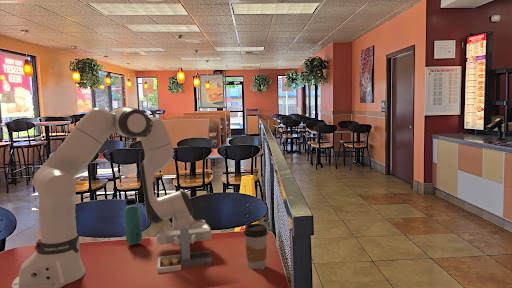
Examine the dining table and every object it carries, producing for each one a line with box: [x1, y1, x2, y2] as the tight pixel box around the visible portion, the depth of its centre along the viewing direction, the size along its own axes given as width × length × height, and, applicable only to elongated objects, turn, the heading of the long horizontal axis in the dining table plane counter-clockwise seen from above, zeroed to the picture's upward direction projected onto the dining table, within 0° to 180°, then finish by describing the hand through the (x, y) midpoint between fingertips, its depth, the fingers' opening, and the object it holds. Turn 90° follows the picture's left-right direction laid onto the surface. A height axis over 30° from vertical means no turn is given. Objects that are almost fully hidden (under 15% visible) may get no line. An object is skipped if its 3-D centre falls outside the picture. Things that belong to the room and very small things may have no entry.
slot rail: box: [179, 250, 213, 269], centre depth 143 cm, size 11×7×3 cm, turn 102°
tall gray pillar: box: [180, 226, 191, 261], centre depth 141 cm, size 3×4×13 cm
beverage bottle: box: [123, 197, 143, 245], centre depth 162 cm, size 6×7×20 cm
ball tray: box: [157, 253, 182, 274], centre depth 140 cm, size 8×10×2 cm
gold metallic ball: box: [161, 258, 172, 267], centre depth 140 cm, size 3×3×3 cm
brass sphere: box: [170, 257, 181, 266], centre depth 141 cm, size 3×3×3 cm
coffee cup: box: [243, 223, 268, 271], centre depth 138 cm, size 8×8×15 cm
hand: (185, 242), depth 140 cm, fingers closed on tall gray pillar, 3 cm apart
